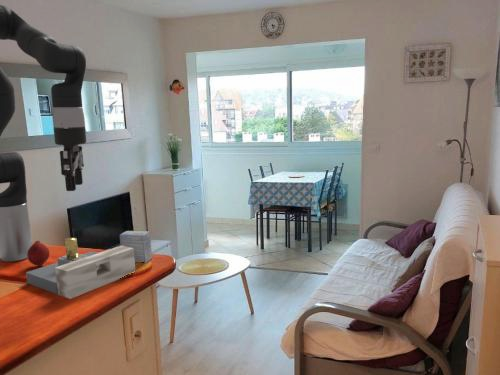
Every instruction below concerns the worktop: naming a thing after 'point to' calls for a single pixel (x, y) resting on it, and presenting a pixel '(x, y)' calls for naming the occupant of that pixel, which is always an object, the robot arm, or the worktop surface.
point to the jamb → (94, 271)
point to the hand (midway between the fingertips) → (74, 187)
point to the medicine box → (138, 244)
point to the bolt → (71, 250)
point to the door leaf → (50, 274)
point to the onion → (38, 253)
